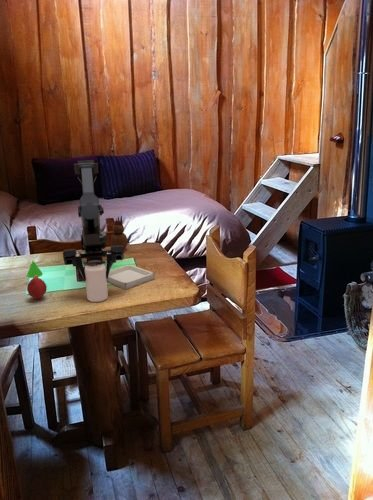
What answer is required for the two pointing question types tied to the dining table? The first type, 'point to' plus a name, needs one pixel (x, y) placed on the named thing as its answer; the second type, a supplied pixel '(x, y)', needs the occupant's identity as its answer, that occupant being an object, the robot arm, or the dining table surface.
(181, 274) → the dining table surface
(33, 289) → the red rounded piece
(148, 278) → the tray
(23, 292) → the dining table surface
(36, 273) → the green pyramid
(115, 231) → the brown rounded spiky piece
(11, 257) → the dining table surface
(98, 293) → the can
